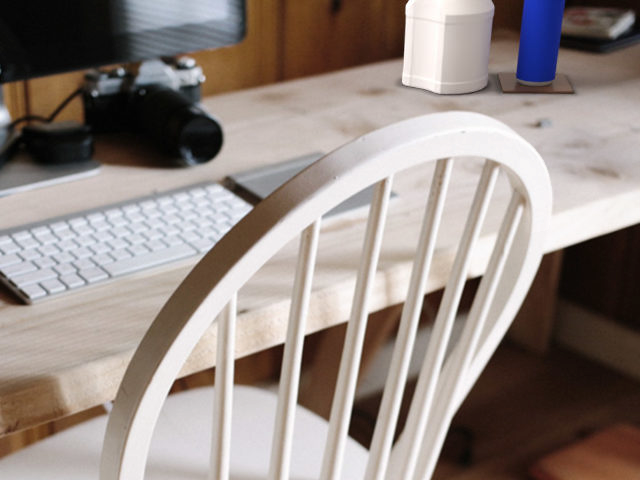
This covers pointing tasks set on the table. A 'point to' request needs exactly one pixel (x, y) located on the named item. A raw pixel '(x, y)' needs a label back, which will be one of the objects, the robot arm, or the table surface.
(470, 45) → the jar
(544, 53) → the beverage can
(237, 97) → the table surface
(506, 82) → the coaster
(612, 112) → the table surface
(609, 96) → the table surface
